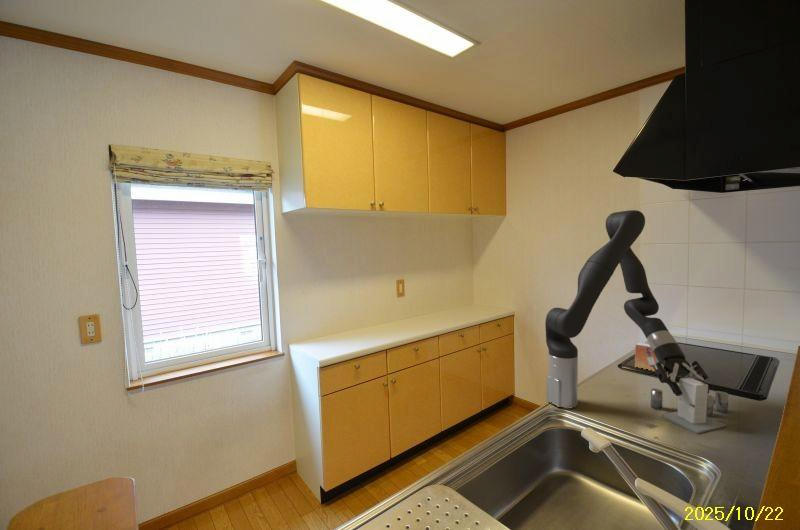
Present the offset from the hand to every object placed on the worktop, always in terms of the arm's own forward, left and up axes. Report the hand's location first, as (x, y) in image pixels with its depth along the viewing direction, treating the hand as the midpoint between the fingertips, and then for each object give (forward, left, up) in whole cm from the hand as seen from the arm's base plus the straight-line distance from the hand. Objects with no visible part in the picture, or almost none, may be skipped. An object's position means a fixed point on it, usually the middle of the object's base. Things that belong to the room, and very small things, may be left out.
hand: (693, 394), depth 112 cm
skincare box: (0, 0, -8) cm, 8 cm away
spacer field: (+8, +6, -9) cm, 13 cm away
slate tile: (0, 0, -9) cm, 9 cm away
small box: (+32, +40, -9) cm, 52 cm away
